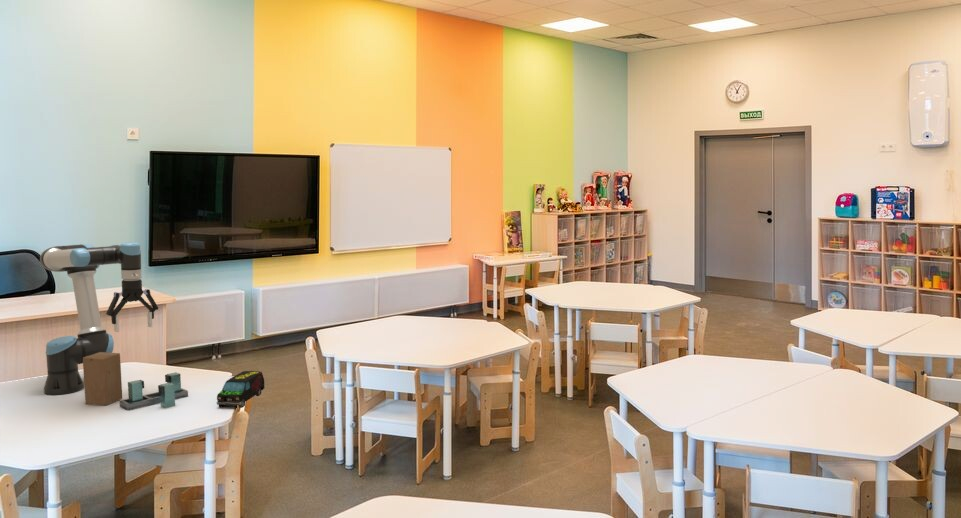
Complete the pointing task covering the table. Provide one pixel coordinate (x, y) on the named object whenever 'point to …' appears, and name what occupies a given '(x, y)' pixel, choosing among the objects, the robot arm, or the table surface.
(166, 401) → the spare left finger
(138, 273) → the robot arm
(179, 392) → the rail
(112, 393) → the wooden block
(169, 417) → the table surface
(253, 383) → the toy van
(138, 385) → the teal rectangular block
